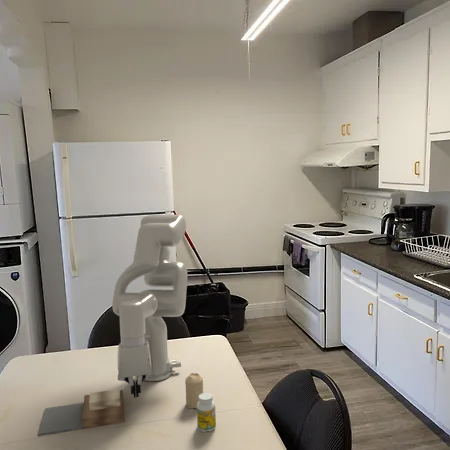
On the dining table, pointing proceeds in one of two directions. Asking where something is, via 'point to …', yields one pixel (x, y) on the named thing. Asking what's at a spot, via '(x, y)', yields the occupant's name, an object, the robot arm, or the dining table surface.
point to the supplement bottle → (206, 412)
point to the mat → (61, 419)
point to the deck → (102, 414)
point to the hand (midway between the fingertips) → (136, 395)
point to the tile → (104, 399)
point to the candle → (193, 389)
